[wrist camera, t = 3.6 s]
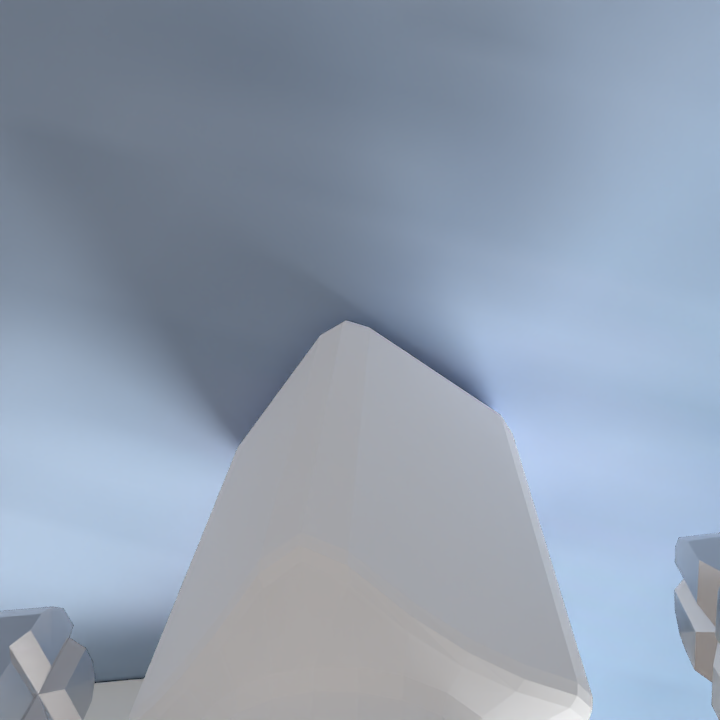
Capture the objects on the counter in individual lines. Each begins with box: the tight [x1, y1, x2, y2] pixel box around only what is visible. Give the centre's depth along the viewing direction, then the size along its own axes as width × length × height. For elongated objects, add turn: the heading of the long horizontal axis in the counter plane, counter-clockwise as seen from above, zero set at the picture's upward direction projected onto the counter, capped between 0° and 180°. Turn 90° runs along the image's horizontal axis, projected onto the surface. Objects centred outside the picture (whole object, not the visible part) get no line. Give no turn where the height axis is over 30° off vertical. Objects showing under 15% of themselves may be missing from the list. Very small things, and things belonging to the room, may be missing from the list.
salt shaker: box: [129, 320, 593, 720], centre depth 8 cm, size 4×4×10 cm
